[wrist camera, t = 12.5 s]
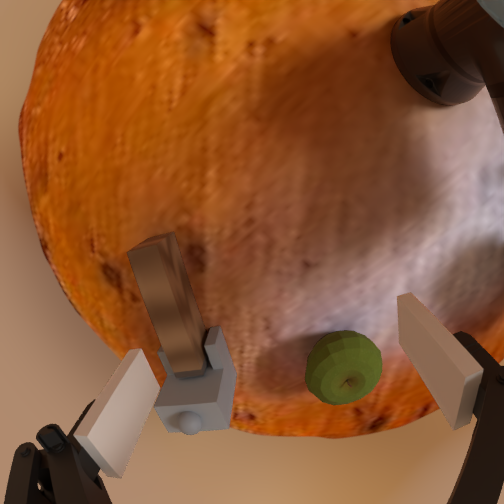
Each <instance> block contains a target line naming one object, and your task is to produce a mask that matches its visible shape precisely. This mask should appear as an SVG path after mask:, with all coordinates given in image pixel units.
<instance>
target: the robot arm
mask: <svg viewBox="0 0 504 504" xmlns="http://www.w3.org/2000/svg"><path fill="white" fill-rule="evenodd" d="M391 49H392V53H393V57H394V59H395V62H396V64H397V66H398V68H399V70H400V72H401V73H402V75H403V76H404V78H405V79H406V80H407V81H408V83H409V84H410V85H411V86H412V87H413V88H414V89H415V90H416V91H418V92H419V93H420V94H421V95H423V96H424V97H426V98H427V99H429V100H431V101H433V102H436V103H439V104H442V105H457V104H461V103H465V102H467V101H469V100H471V99H473V98H474V97H475V96H476V95H477V94H478V93H479V92H480V91H481V90H482V88H483V87H484V86H485V85H486V87H487V90H488V92H489V94H490V97H491V100H492V102H493V105H494V108H495V110H496V113H497V116H498V119H499V122H500V125H501V128H502V131H503V134H504V0H440V1H439V2H437V3H436V4H435V5H431V6H426V7H421V8H416V9H413V10H411V11H409V12H407V13H405V14H404V15H403V16H402V17H401V18H400V19H399V20H398V21H397V22H396V24H395V25H394V27H393V30H392V33H391ZM397 305H398V326H399V344H400V345H401V347H402V348H403V350H404V351H405V353H406V354H407V356H408V358H409V359H410V361H411V362H412V364H413V365H414V367H415V368H416V370H417V372H418V373H419V375H420V376H421V378H422V379H423V381H424V383H425V384H426V386H427V388H428V389H429V391H430V392H431V394H432V396H433V397H434V399H435V401H436V402H437V404H438V406H439V407H440V409H441V411H442V412H443V414H444V416H445V417H446V419H447V421H448V423H449V424H450V426H451V428H452V430H456V429H458V428H460V427H463V426H465V425H467V424H469V423H470V421H471V418H472V414H474V415H475V417H476V418H477V423H476V426H475V429H474V432H473V435H472V439H471V443H470V446H469V449H468V452H467V455H466V458H465V460H464V463H463V466H462V469H461V472H460V474H459V476H458V479H457V482H456V484H455V486H454V489H453V492H452V494H451V496H450V498H449V500H448V502H447V504H497V502H498V499H499V496H500V493H501V489H502V486H503V482H504V366H500V365H499V364H498V363H497V361H496V360H495V359H494V358H493V357H492V356H491V355H490V354H489V353H488V352H487V351H486V350H485V349H484V348H482V346H481V345H480V344H479V343H477V341H476V340H475V339H474V338H473V337H472V336H471V335H469V334H467V333H464V332H462V331H460V332H458V333H455V334H453V335H452V334H451V333H450V332H449V331H448V330H447V329H446V328H445V326H444V325H443V324H442V323H441V322H440V321H439V320H438V319H437V318H436V317H435V316H434V315H433V314H432V313H431V312H430V311H429V310H428V309H427V308H426V307H425V306H424V305H423V304H422V303H421V302H420V301H419V300H418V299H417V298H416V297H415V296H414V295H413V294H412V293H411V292H410V293H407V294H403V295H400V296H397ZM159 391H160V386H159V384H158V382H157V380H156V378H155V376H154V374H153V372H152V370H151V368H150V366H149V364H148V361H147V359H146V357H145V355H144V353H143V351H142V348H139V349H131V350H129V351H128V353H127V354H126V356H125V357H124V358H123V360H122V361H121V363H120V364H119V366H118V367H117V369H116V370H115V372H114V373H113V375H112V376H111V378H110V379H109V381H108V382H107V384H106V385H105V387H104V388H103V390H102V391H101V393H100V394H99V396H98V397H97V399H95V400H93V401H92V402H91V403H90V404H89V405H87V407H86V408H85V410H84V411H83V414H81V416H80V417H79V420H77V422H76V423H75V425H74V426H73V428H72V429H71V431H70V432H69V434H68V436H66V435H65V434H64V432H63V431H62V430H61V428H60V427H59V426H58V425H57V424H49V425H46V426H45V427H43V428H42V429H40V430H39V432H38V433H37V435H36V439H37V441H38V442H39V443H40V444H41V446H42V447H43V448H44V449H43V450H38V449H37V448H36V446H35V445H34V444H33V443H31V442H26V443H24V444H21V445H20V446H19V447H18V448H17V449H16V451H15V454H14V458H13V462H12V466H11V471H10V475H9V480H8V485H7V490H6V495H5V501H4V504H112V502H111V500H110V498H109V495H108V493H107V491H106V488H105V486H104V483H103V481H102V479H101V477H100V476H99V475H98V472H99V470H100V469H101V470H102V471H103V472H104V473H105V474H106V475H107V476H108V477H115V478H122V476H123V473H124V471H125V469H126V466H127V464H128V462H129V459H130V457H131V454H132V452H133V450H134V447H135V445H136V443H137V441H138V438H139V436H140V433H141V431H142V429H143V426H144V424H145V422H146V420H147V418H148V415H149V413H150V411H151V409H152V406H153V404H154V402H155V399H156V397H157V395H158V393H159ZM37 483H39V484H40V486H41V489H40V490H39V489H38V484H37Z"/></svg>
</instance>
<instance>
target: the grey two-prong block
mask: <svg viewBox="0 0 504 504" xmlns="http://www.w3.org/2000/svg"><path fill="white" fill-rule="evenodd" d="M204 347H205V349H206V352H207V354H208V357H209V359H208V362H207V366H206V369H205V372H204V375H201V376H192V377H183V378H176V377H175V375H174V372H173V370H172V368H171V366H170V364H169V361H168V359H167V357H166V354H165V352H164V350H163V347H162V345H161V347H160V348H159V350H158V352H157V353H158V355H159V358H160V360H161V362H162V364H163V366H164V369H165V371H166V373H167V377H166V380H165V382H164V384H163V386H162V389H161V391H160V393H159V395H158V398H157V400H156V402H155V404H154V408H155V410H156V412H157V413H158V415H159V417H160V419H161V421H162V422H163V424H164V426H165V427H166V429H167V431H168V432H182V433H184V434H187V435H194V434H197V433H198V432H199V431H210V430H222V429H229V425H230V418H231V411H232V404H233V397H234V391H235V384H236V377H237V373H236V370H235V367H234V365H233V362H232V359H231V356H230V353H229V350H228V347H227V344H226V341H225V338H224V336H223V333H222V330H221V327H220V326H217V327H211V328H210V330H209V333H208V336H207V339H206V342H205V345H204Z"/></svg>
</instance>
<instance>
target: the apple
mask: <svg viewBox="0 0 504 504" xmlns="http://www.w3.org/2000/svg"><path fill="white" fill-rule="evenodd" d="M381 373H382V358H381V351H380V350H379V349H378V348H377V347H376V345H375V344H374V343H373V342H372V341H371V340H370V339H369V338H367V337H366V336H365V335H362V334H360V333H357V332H355V331H348V330H344V331H336V332H333V333H330V334H327V335H326V336H324V337H323V338H322V339H320V340H319V341H318V343H317V344H316V345H315V346H314V348H313V350H312V351H311V353H310V355H309V356H308V360H307V367H306V374H305V381H306V384H307V387H308V390H309V391H310V392H311V393H313V394H314V395H315V396H316V397H317V398H319V399H320V400H321V401H322V402H325V403H328V404H331V405H341V404H348V403H351V402H353V401H356V400H359V399H361V398H362V397H364V396H365V395H367V394H368V393H370V392H371V391H372V390H373V389H374V387H375V386H376V384H377V383H378V382H379V379H380V376H381Z"/></svg>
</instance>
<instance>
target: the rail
mask: <svg viewBox="0 0 504 504" xmlns="http://www.w3.org/2000/svg"><path fill="white" fill-rule="evenodd" d="M127 255H128V258H129V261H130V264H131V267H132V269H133V272H134V275H135V278H136V281H137V284H138V287H139V289H140V292H141V295H142V297H143V300H144V303H145V305H146V308H147V311H148V313H149V316H150V318H151V321H152V323H153V326H154V328H155V331H156V333H157V336H158V338H159V340H160V343H161V345H162V347H163V350H164V352H165V354H166V357H167V359H168V361H169V364H170V366H171V368H172V370H173V372H174V375H175V377H176V378H183V377H192V376H201V375H204V372H205V369H206V366H207V362H208V359H209V357H208V354H207V352H206V349H205V347H204V345H205V342H206V339H207V336H208V335H207V332H206V329H205V326H204V324H203V321H202V318H201V315H200V312H199V309H198V306H197V303H196V300H195V297H194V294H193V291H192V288H191V285H190V282H189V279H188V276H187V273H186V269H185V266H184V263H183V260H182V257H181V253H180V250H179V247H178V243H177V240H176V237H175V233H174V232H170V233H166V234H163V235H159V236H155V237H152V238H148V239H146V240H145V241H143V242H142V243H140V244H139V245H137V246H136V247H134V248H133V249H131V250H130V251H128V252H127Z"/></svg>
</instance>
